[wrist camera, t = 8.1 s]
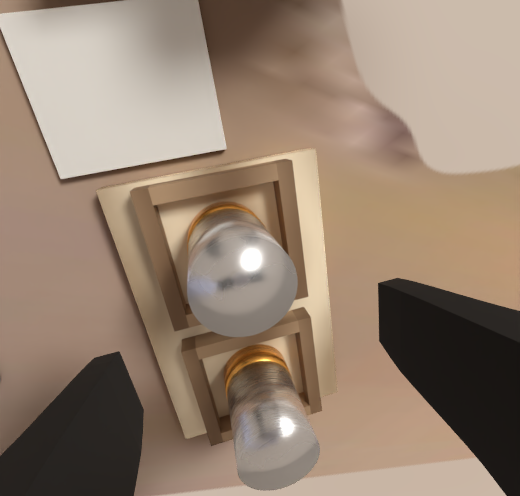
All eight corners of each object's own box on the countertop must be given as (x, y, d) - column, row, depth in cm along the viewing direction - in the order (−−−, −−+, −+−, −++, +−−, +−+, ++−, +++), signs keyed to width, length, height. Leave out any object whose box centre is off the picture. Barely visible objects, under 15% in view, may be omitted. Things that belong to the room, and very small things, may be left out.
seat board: (186, 426, 21) (185, 456, 19) (101, 187, 15) (87, 194, 13) (331, 381, 23) (345, 405, 21) (308, 148, 17) (325, 149, 15)
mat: (63, 178, 15) (60, 179, 14) (0, 18, 12) (-5, 14, 12) (225, 148, 16) (226, 149, 16) (196, -4, 14) (196, -8, 13)
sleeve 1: (199, 282, 17) (204, 351, 11) (177, 212, 15) (169, 254, 10) (269, 262, 17) (306, 319, 12) (254, 192, 16) (288, 221, 10)
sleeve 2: (230, 403, 20) (245, 501, 15) (217, 354, 19) (228, 444, 13) (288, 385, 21) (324, 474, 15) (280, 336, 19) (316, 416, 14)
